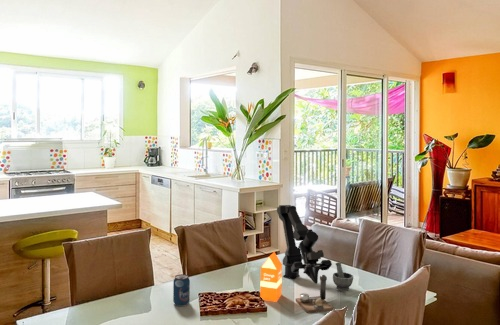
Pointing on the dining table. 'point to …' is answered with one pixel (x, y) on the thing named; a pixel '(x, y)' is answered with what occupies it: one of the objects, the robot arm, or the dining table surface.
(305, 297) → the lever
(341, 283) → the mortar and pestle
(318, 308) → the base
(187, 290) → the soda can
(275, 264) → the orange juice
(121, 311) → the dining table surface
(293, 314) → the dining table surface
